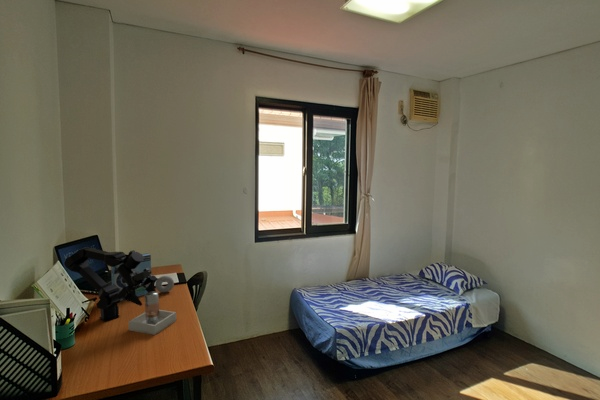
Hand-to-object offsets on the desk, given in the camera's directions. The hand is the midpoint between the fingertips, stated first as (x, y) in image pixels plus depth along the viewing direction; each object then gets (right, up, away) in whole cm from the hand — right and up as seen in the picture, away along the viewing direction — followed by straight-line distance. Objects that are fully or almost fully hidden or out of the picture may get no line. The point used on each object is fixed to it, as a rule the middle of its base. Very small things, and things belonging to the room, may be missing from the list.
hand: (149, 301), depth 143 cm
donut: (-10, -8, +40) cm, 42 cm away
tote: (+2, -11, 0) cm, 11 cm away
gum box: (-25, -8, +33) cm, 43 cm away
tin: (+2, -10, 0) cm, 10 cm away
